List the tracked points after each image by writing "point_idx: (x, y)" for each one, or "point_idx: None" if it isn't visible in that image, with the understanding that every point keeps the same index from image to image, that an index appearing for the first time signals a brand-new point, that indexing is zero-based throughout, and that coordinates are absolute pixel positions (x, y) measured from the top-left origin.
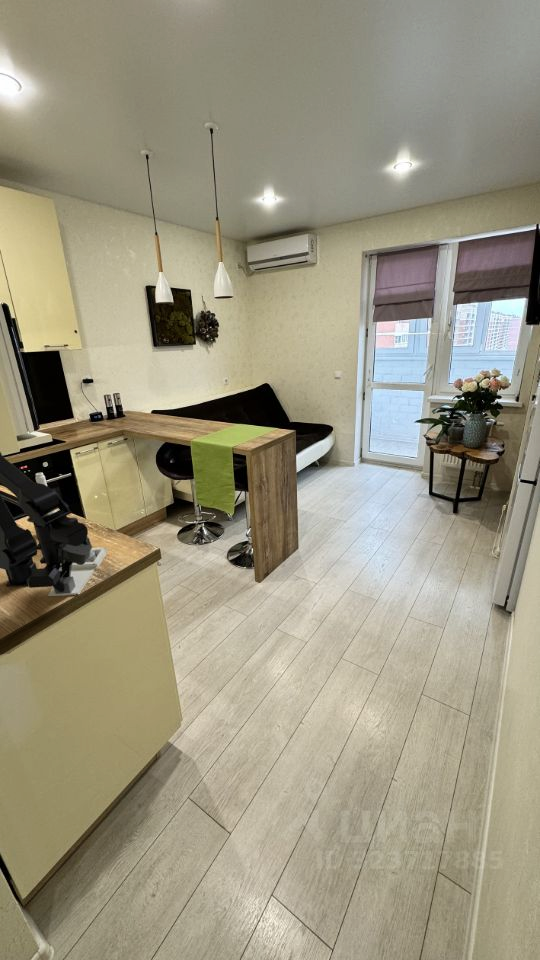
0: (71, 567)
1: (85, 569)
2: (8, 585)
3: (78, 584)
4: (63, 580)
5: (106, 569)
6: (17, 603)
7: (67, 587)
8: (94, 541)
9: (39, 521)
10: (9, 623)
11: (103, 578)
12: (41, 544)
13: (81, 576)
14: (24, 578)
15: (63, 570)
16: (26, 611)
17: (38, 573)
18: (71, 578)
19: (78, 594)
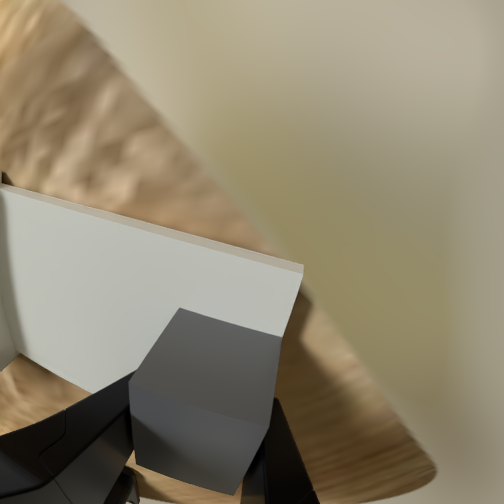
0: (2, 332)
1: (2, 248)
2: (138, 502)
3: (159, 284)
4: (194, 450)
5: (12, 96)
6: None
7: (269, 394)
8: None
9: None
10: (388, 497)
11: (101, 74)
12: None
13: (61, 268)
14: (111, 491)
15: (92, 484)
16: (339, 481)
17: None
18: (169, 398)
19: (302, 267)
